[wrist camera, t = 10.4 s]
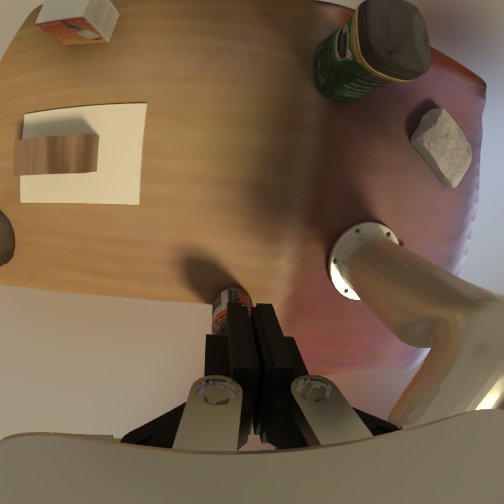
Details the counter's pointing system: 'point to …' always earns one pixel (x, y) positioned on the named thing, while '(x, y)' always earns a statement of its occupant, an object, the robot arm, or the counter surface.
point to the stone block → (442, 146)
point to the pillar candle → (6, 240)
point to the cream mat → (109, 155)
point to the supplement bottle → (221, 306)
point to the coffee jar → (373, 50)
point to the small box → (78, 21)
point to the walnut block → (56, 155)
